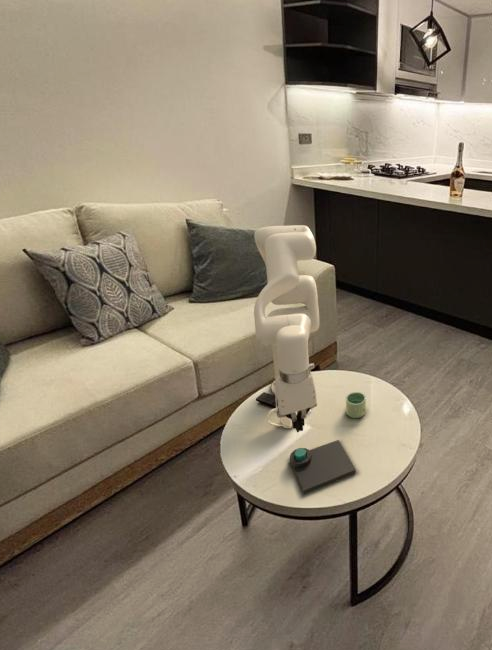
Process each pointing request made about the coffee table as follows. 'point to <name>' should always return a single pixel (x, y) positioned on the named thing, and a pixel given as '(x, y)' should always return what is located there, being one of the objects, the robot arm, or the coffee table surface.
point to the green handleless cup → (355, 404)
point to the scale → (322, 466)
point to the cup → (284, 420)
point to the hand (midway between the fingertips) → (298, 428)
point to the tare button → (300, 454)
